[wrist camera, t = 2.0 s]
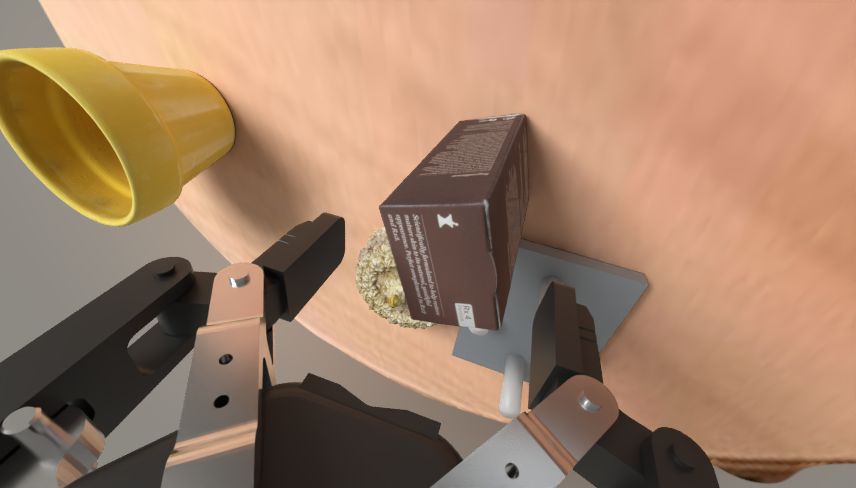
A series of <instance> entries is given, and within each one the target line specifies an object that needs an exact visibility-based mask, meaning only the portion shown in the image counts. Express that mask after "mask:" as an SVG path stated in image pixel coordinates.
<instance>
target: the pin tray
mask: <svg viewBox="0 0 856 488" xmlns="http://www.w3.org/2000/svg"><path fill="white" fill-rule="evenodd" d="M552 281H554V282H558V283H561V284H564V285H568V286H571V287H574V288H575V294H576V303H577V304H581V305H584V306H586V307H587V309H588V310H589V312H590V314H591V315H592V317H593V319H594V324H595V331H596V332H595V334H596V338H597V344H598V351H599V353H600V351H601V350H602V348H603V347H604V346H605V344H606V343H607V342H608V340H609V339H610V337H611V336H612V335H613V333H614V332H615V331H616V329H617V328H618V326H619V325H620V324H621V322H622V321H623V320H624V318H625V317H626V315H627V314H628V313H629V311H630V310H631V308H632V307H633V306H634V304H635V303H636V302H637V300H638V299H639V297H640V296H641V295H642V293H643V292H644V291H645V289H646V288H647V286H648V282H647V279H646V276H645V274H643V273H639V272H636V271H632V270H629V269H625V268H622V267H618V266H615V265H611V264H608V263H604V262H601V261H597V260H594V259H590V258H587V257H583V256H580V255H576V254H573V253H570V252H566V251H563V250H559V249H556V248H552V247H549V246H545V245H542V244H538V243H535V242H531V241H528V240H524V239H520V244H519V248H518V253H517V258H516V262H515V266H514V271H513V276H512V281H511V287H510V291H509V295H508V300H507V305H506V309H505V314H504V318H503V322H502V326H501V328H500V330H497V331H495V330H488V329H480V328H471V327H463V326H460V329H459V333H458V336H457V339H456V343H455V346H454V349H453V353H452V355H453V356H456V357H458V358H461V359H464V360H467V361H470V362H472V363H475V364H478V365H481V366H484V367H486V368H489V369H492V370H495V371H498V372H500V373H503V374H504V377H503V384H502V391H501V398H500V405H499V412H500V414H502V415H503V416H505V417H507V418H513V419H514V418H516V417H517V416H518V415H520V408H521V397H522V386H523V381H525V382H528V383H529V382H530V363H531V344H532V326H533V320H534V317H535V313H536V311H537V309H538V307H539V305H540V303H541V301H542V299H543V297H544V295H545V293H546V291H547V289H548V287H549V285H550V283H551V282H552Z"/></svg>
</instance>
